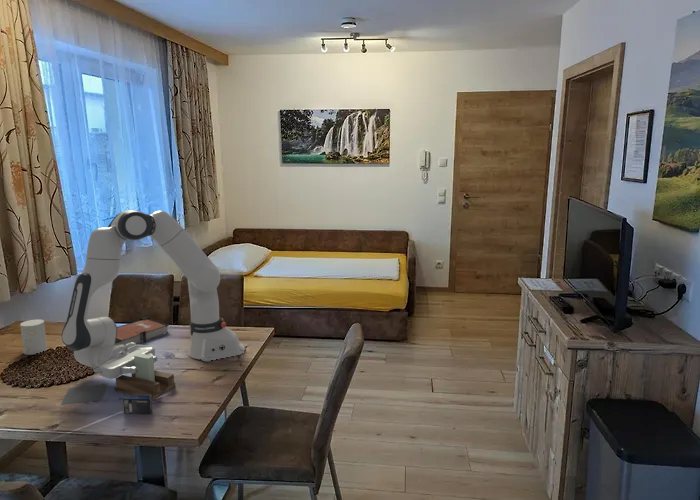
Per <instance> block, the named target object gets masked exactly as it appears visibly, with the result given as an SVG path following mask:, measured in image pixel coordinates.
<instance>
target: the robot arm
mask: <svg viewBox="0 0 700 500" xmlns="http://www.w3.org/2000/svg"><path fill="white" fill-rule="evenodd" d="M147 237H149V238H151V239H152V240H153V241H155V243H156V244H157V245H158V246H159V248H160V249H161V250H162V251H163V252H164V253H165V254H166V256H168V257H169V258H170V259H171V261H172V262H173V263H174V264H175V266H176V267H177V268H178V269H179V270H180V272H181V273H182V274H183V275H184V276H185V277H186V279H187V286H188V287H187V289H188V294H189V295H188V296H189V305H190V307H189V308H190V309H189V310H190V320H189V333H190V344H189V350H188V356H189V357H190V358H192V359H195V360H200V359H201V360H200V361H203V362H211V360H213V361H217V360H216V359H218V360H221V359H220V358H224V359H226V358H225V357H229V358H231V357H230V356H234V357H236V356H235V355H240V354H242V353H243V352H244V350H245V351H246V349H245V345H244V344H243V342H241V341H239V337H238V335H237V333H236V332H235V331H233V330H231V329H229V328H228V327H227V322H225V319H224V318H223V317H220V306H219V305H220V303H219V301H220V300H219V296H218V289H217V288H218V286H219V285H220V282H221V273H220V270H219V269H218V267H217V266H216V265H215V264H214V263H213V261H212V260H211V259H210V258H209V256H207V255H206V254H205V252H204V251H203V249H202V248H201V247H200V246H199V245H198V244H197V243H196V241H195V240H194V239H193V238H192V237H191V235H190V234H189V233H188V232H187V231H186V229H184V227H183V226H182V225H181V224H180V222H178V221H177V220H176V219H175V218H174V217H173V216H171V215H170V214H169V213H168V212H166V211H164V210H156V211H153V212H152V213H150V214H148V213H144V212H142V211H139V210H133V209H128V210H124V211H121V212H119V213H117V214H116V215H115V217H113V219H112V221H110V223H109V224H108V226H107V227H106V226H105V227H97V228H95V229H93V230H92V231H91V234H90V235H89V239H88V244H87V248H86V249H87V250H86V256H85V257H86V259H85V265H84V267H83V269H82V272H81V273H80V275H78V276H77V278H76V280H75V282H74V286H73V290H72V294H71V295H72V296H71V300H70V304H69V309H68V313H67V317H66V321H65V323H64V325H63V328H62V331H61V341H62V343H63V344H64V345H65V346H66V347H67V348H68V349H69V350H71V351H73V357H74V359H75V360H76V361H77V362H78V363H79V364H81V365H83V366H86V367H90V368H93V372H94V373H97V374H99V375H100V376H101V377H104V378H107V379H109V380H110V379H116V378H117V377H119V376H121V375H128V374H131V373H133V374H134V373H136V372H137V371H138V370H137V367H135V362H134V356H135V355H137V354H139V353H141V354H146V355H151V356H153V358H154V363H157V362H158V356H156V352H155V351H156V350H155V348H154V347H153V346H150V345H145V344H136V343H134V342H131V343H127V344H123V345H116V346H115V345H114V344H115V340H116V336H117V327H118V326H117V324H116V322H115V320H113V318H111V317H109V316H100V317H99V316H98V317H93V318H88V314H89V308H90V304H91V300H92V299H91V298H92V297H93V295H94V294H95V292H97V291H98V290H99V289H101V288H102V287H104V286H106V285H108V284H111V282H113V281H114V280H115V279H116V278H117V277H118V276H119V273H120V270H121V265H122V263H121V261H122V248H123V246H124V244H126V242H128V241H129V242H130V241H132V242H133V241H140V240H142V239H144V238H147ZM87 318H88V319H87ZM244 353H245V352H244ZM244 353H243V354H244ZM243 354H242V355H243ZM240 356H241V355H240Z"/></svg>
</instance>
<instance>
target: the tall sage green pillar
mask: <svg viewBox="0 0 700 500" xmlns="http://www.w3.org/2000/svg"><path fill="white" fill-rule="evenodd" d="M134 362H135V367H137V370H138V371H137V372H136V373H135V376H136V378H140V379H144V380H149V381H154V382H155V374H154V370H155V362H154V358H153V356H151V355H146V354H141V353H139V354H137V355H135V356H134Z"/></svg>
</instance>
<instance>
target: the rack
mask: <svg viewBox="0 0 700 500" xmlns="http://www.w3.org/2000/svg"><path fill="white" fill-rule="evenodd" d="M130 374H131V376H130V375H127V374H122V375H120V376H118V377H116V378H115V388H114V390H115V392H119V393H122V394H123V393H124V394H151V396H152V401H154V400H156V399H157V398H159V397H160V396H161V395H162V394H164V393H166V392H167V391H168V390H172V389H174V388H175V387H176V382H175V374H174V373H169V372H164V371H160V370H155V369H154V374H155V382H154V381H149V380H144V379H140V378H136V376H135V373H134V374H133V373H130Z"/></svg>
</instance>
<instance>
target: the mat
mask: <svg viewBox="0 0 700 500" xmlns="http://www.w3.org/2000/svg"><path fill="white" fill-rule="evenodd" d="M107 387H108V383H103V384H91V385H83V386H77V387H75V386H74V387H69V388H68V390H67V392H66V394H65V395H64V397H63V399H62V402H61V404H60V405H62V406H65V405H71V404H80V403H87V402H96V401H97V402H98V401H103V397H104V396H105V393H106V390H107Z"/></svg>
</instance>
